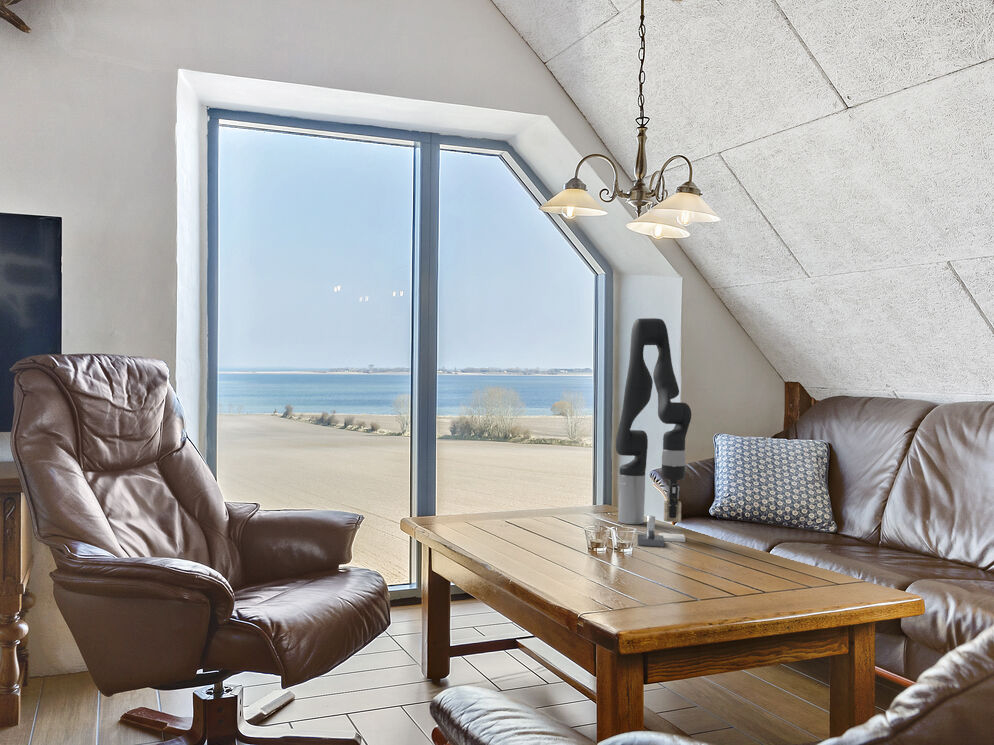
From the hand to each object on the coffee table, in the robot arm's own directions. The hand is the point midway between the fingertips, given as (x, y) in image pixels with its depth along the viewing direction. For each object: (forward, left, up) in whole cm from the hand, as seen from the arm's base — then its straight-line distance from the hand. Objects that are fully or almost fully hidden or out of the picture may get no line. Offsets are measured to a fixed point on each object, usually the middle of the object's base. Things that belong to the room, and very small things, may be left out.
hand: (672, 516), depth 267 cm
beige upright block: (0, 0, -1) cm, 1 cm away
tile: (0, 0, -7) cm, 7 cm away
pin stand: (+10, -7, -7) cm, 14 cm away
